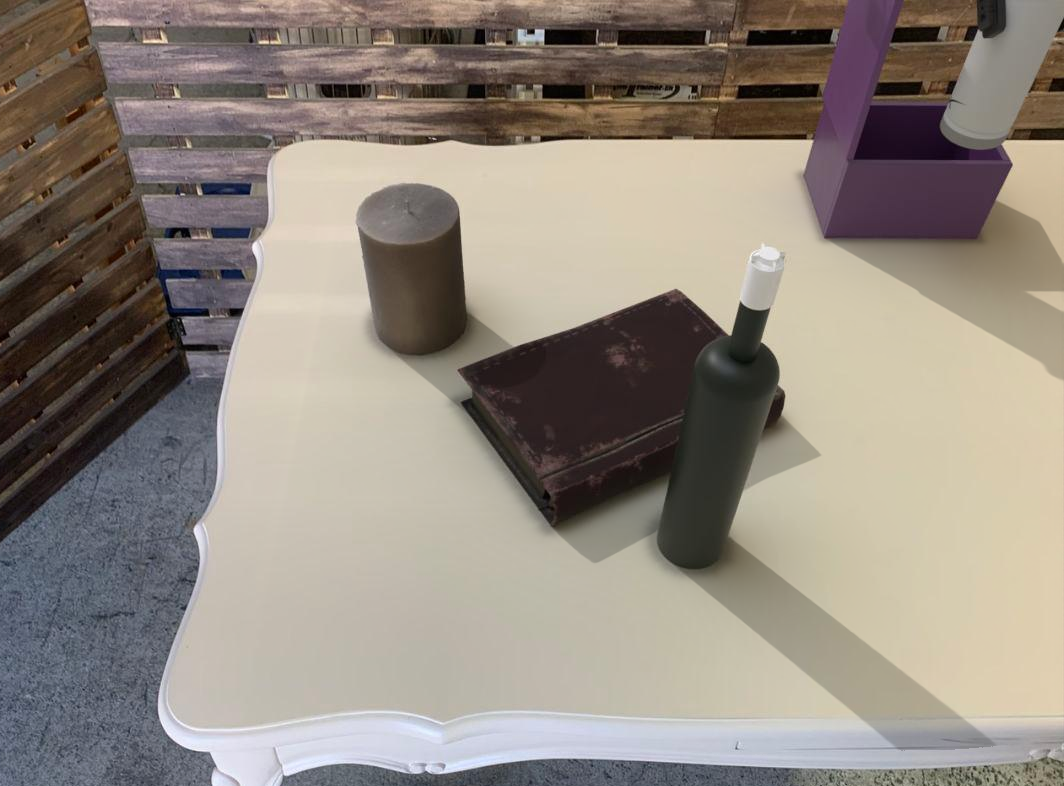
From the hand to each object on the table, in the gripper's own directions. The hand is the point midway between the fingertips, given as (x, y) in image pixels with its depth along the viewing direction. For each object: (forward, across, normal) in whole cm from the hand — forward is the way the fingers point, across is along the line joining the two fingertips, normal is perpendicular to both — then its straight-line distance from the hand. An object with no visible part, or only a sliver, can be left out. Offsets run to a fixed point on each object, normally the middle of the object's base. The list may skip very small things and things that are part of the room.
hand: (1030, 31), depth 78 cm
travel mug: (+6, 0, +9) cm, 11 cm away
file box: (+10, +2, +27) cm, 29 cm away
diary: (+29, -38, +8) cm, 49 cm away
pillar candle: (+18, -55, +20) cm, 61 cm away
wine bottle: (+40, -36, -3) cm, 54 cm away
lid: (-5, -7, +15) cm, 17 cm away
